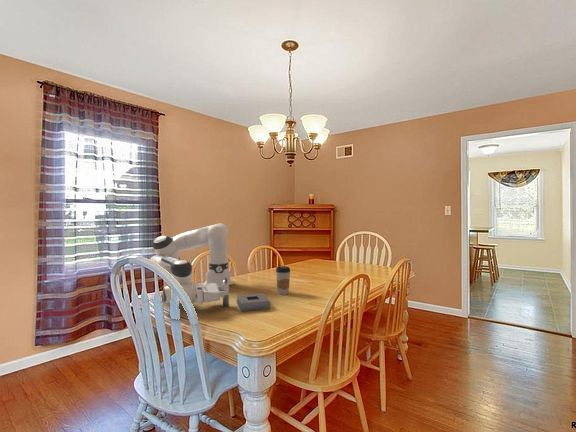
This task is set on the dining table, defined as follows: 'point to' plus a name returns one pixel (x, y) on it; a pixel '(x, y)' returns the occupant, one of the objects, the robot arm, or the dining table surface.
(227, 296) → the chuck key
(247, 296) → the block
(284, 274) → the coffee cup
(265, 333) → the dining table surface
